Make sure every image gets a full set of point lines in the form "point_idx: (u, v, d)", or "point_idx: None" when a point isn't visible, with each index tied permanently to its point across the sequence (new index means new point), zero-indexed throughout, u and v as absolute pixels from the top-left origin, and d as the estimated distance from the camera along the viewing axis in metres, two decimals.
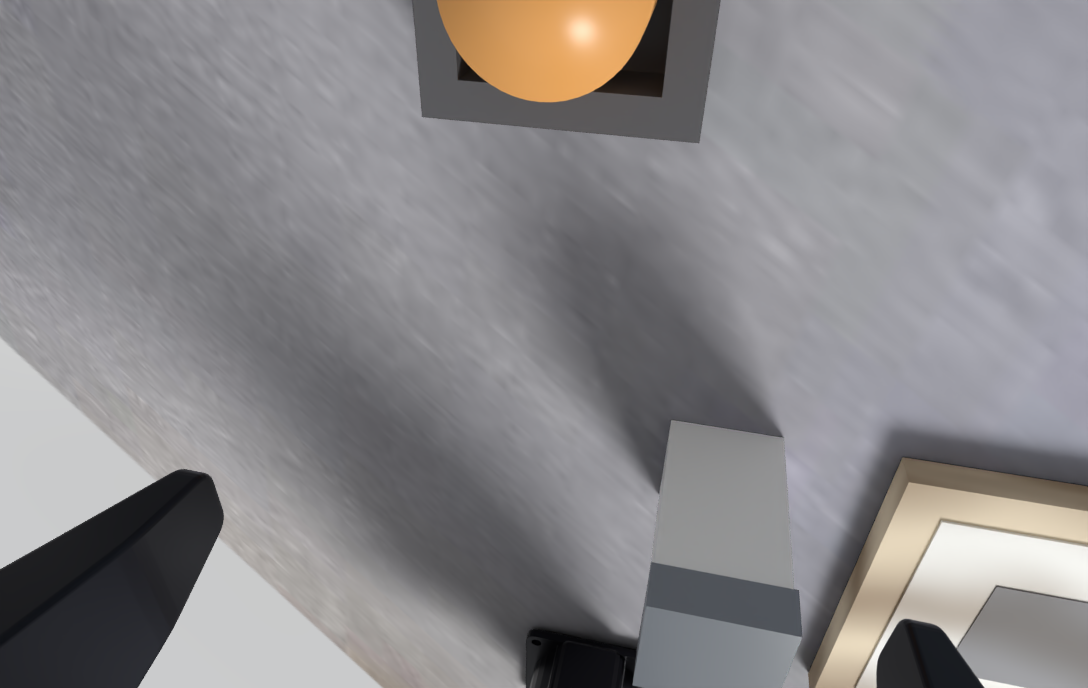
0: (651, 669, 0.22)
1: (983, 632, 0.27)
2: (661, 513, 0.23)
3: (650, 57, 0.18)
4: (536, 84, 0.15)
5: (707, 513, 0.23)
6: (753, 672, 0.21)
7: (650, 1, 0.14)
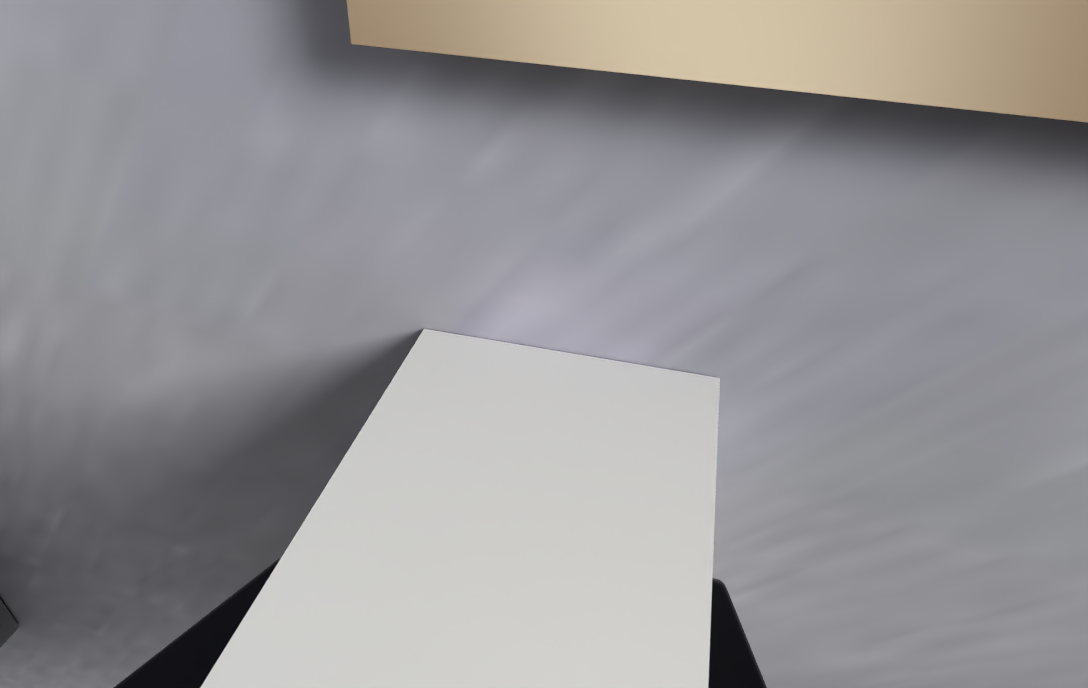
0: None
1: None
2: None
3: None
4: None
5: None
6: None
7: None
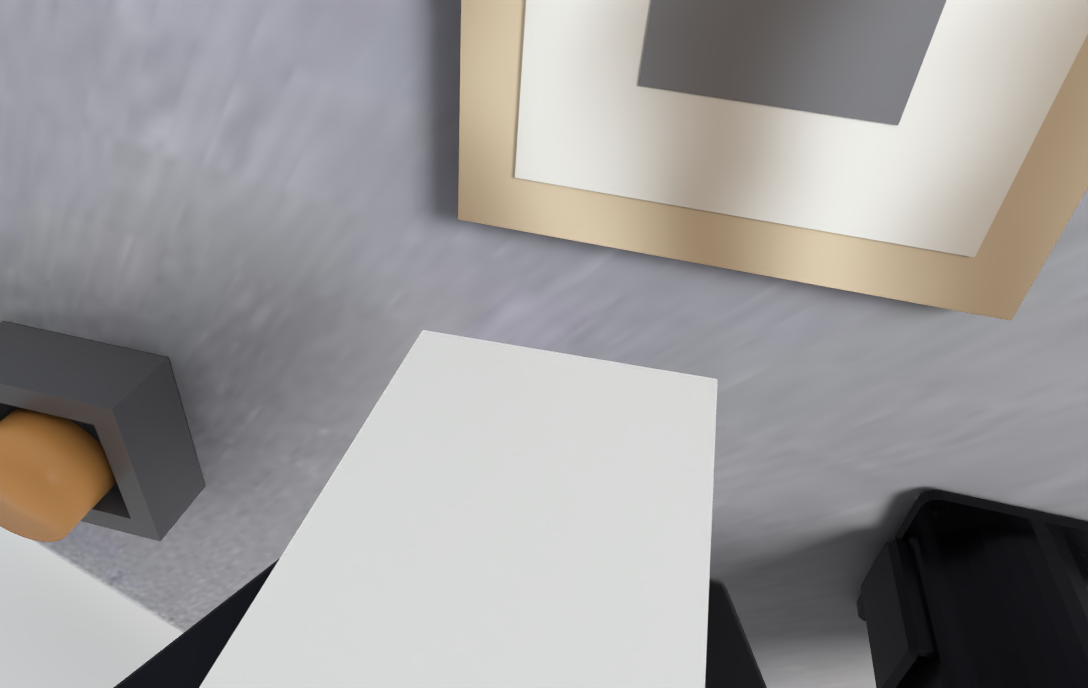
0: None
1: (766, 81, 0.15)
2: None
3: None
4: (57, 512, 0.25)
5: None
6: None
7: None
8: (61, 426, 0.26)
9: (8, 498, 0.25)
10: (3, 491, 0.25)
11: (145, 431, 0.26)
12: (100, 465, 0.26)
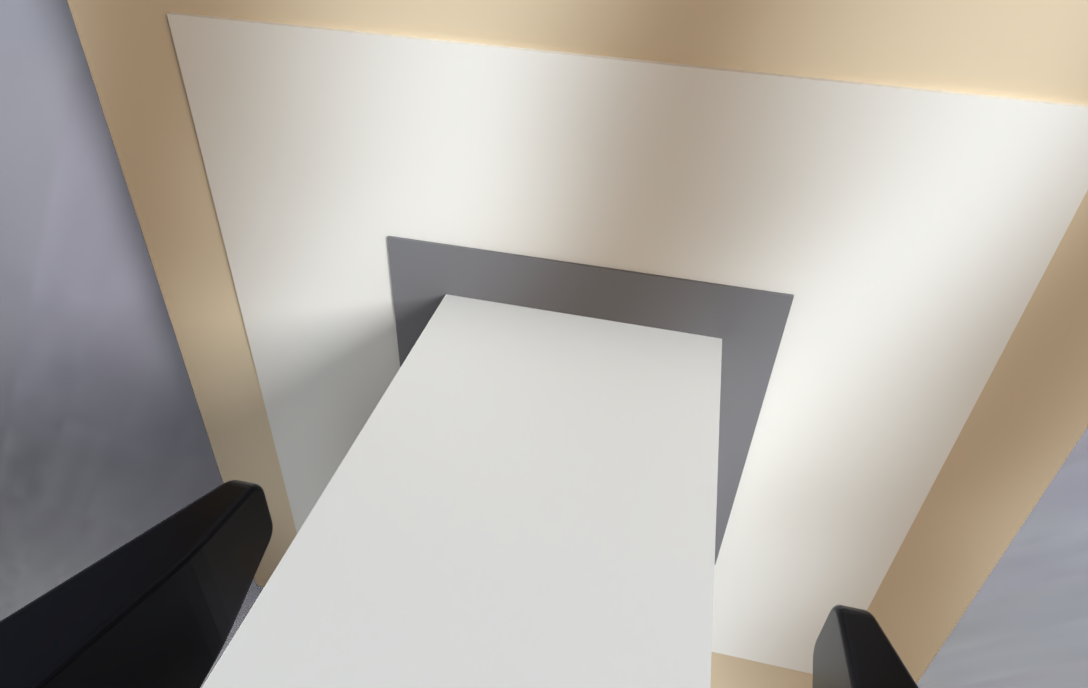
0: None
1: None
2: None
3: None
4: None
5: None
6: None
7: None
8: None
9: None
10: None
11: None
12: None
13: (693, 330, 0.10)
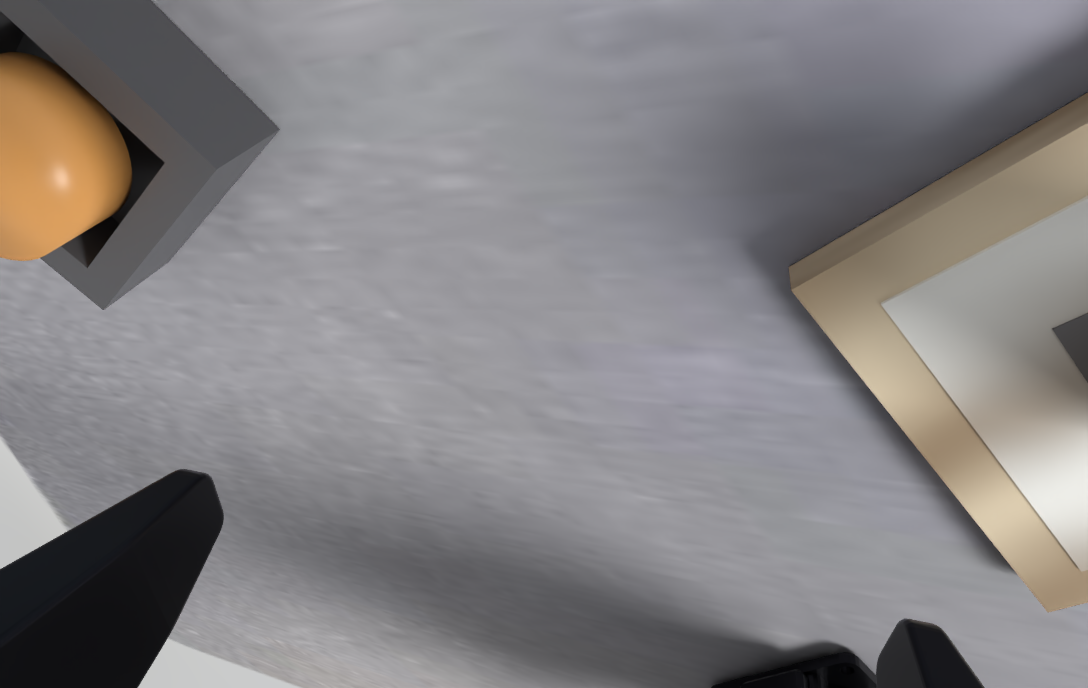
0: None
1: None
2: None
3: None
4: (42, 235, 0.17)
5: None
6: None
7: (6, 120, 0.16)
8: (106, 129, 0.18)
9: None
10: None
11: (204, 198, 0.19)
12: (117, 200, 0.19)
13: None
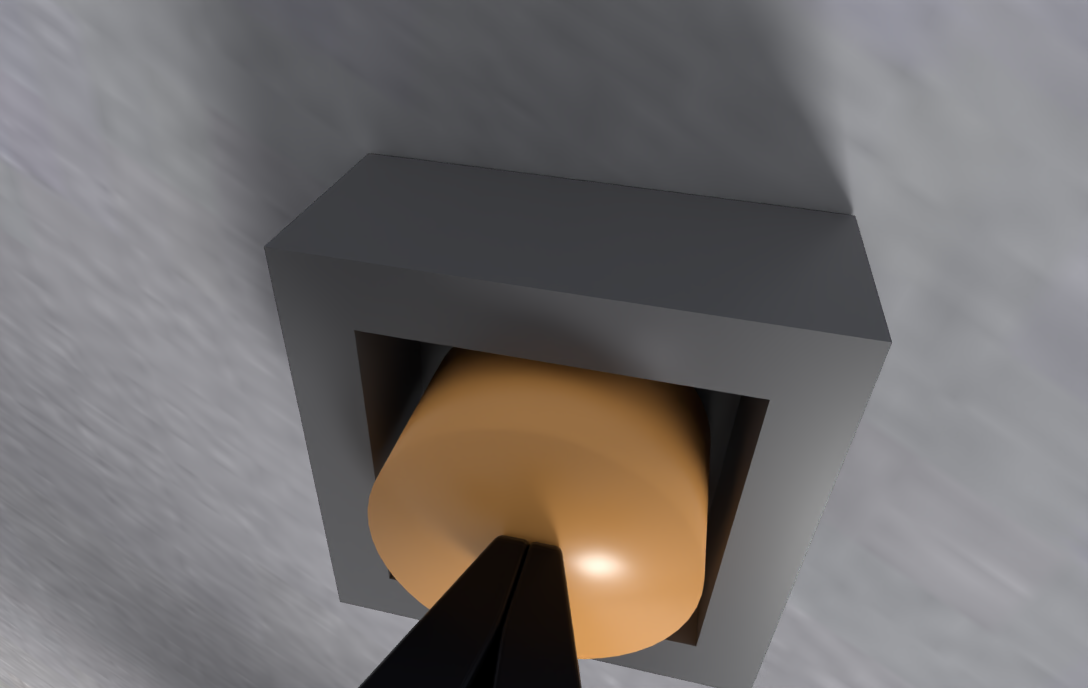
0: None
1: None
2: None
3: None
4: None
5: None
6: None
7: (698, 599, 0.09)
8: None
9: None
10: None
11: None
12: None
13: None
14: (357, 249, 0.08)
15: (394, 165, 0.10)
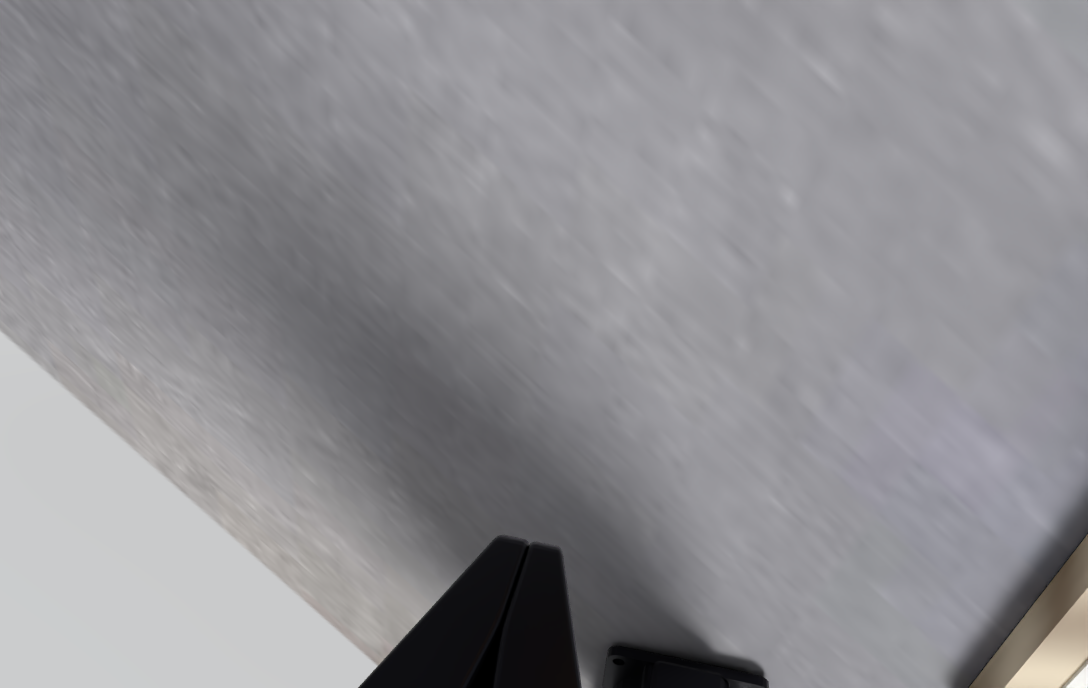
0: None
1: None
2: None
3: None
4: None
5: None
6: None
7: None
8: None
9: None
10: None
11: None
12: None
13: None
14: None
15: None
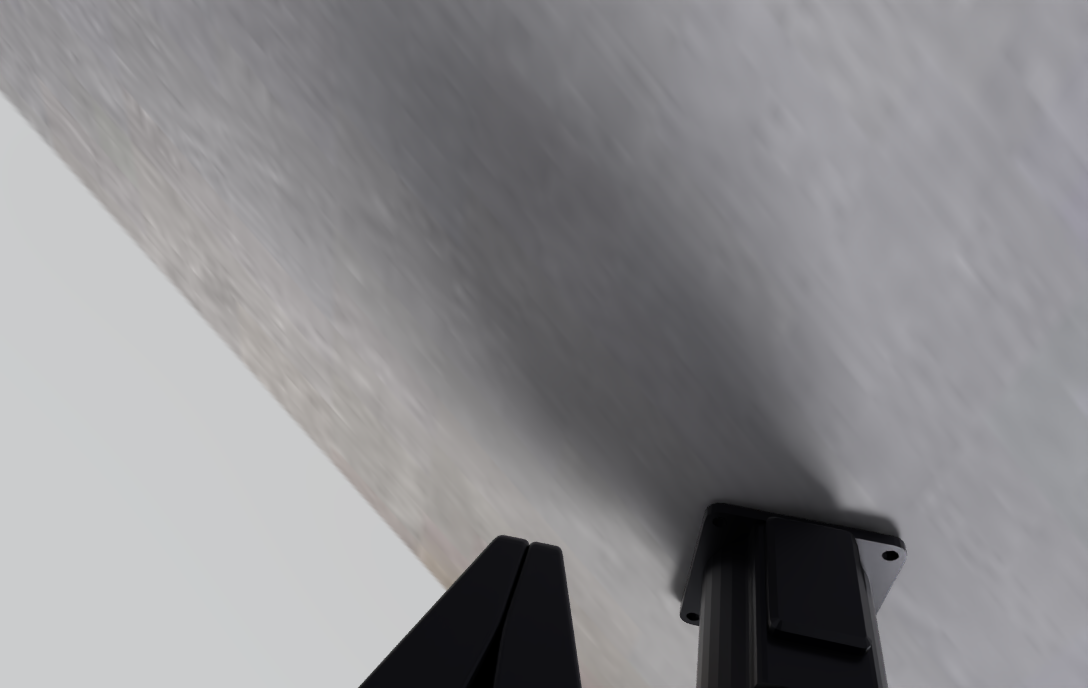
0: None
1: None
2: None
3: None
4: None
5: None
6: None
7: None
8: None
9: None
10: None
11: None
12: None
13: None
14: None
15: None
